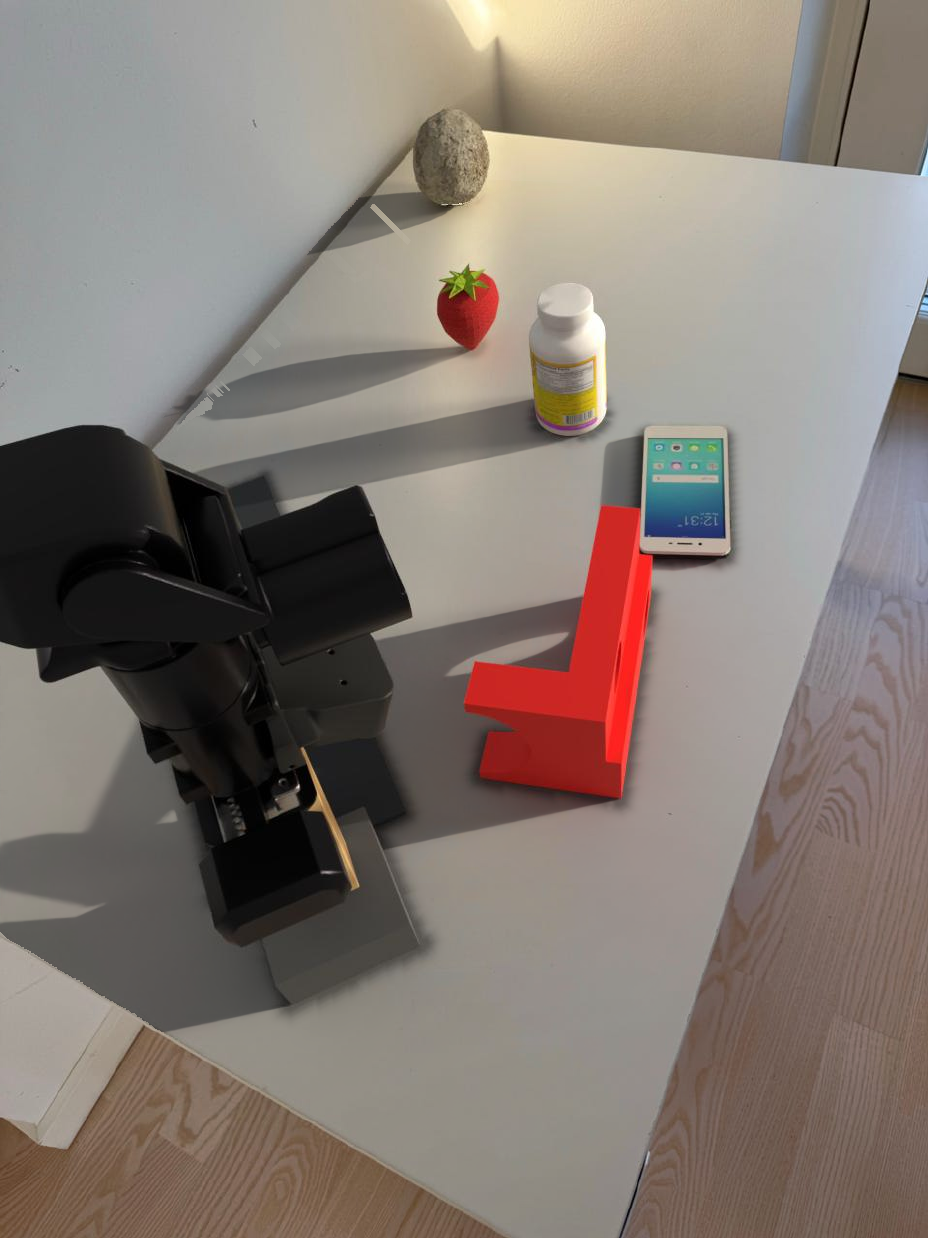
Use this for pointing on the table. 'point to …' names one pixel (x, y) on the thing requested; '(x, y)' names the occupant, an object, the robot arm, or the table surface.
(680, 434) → the smartphone
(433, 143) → the decorative stone
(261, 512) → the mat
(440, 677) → the table surface
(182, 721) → the robot arm
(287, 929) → the stand
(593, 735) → the bracket
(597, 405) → the supplement bottle
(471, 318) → the strawberry
